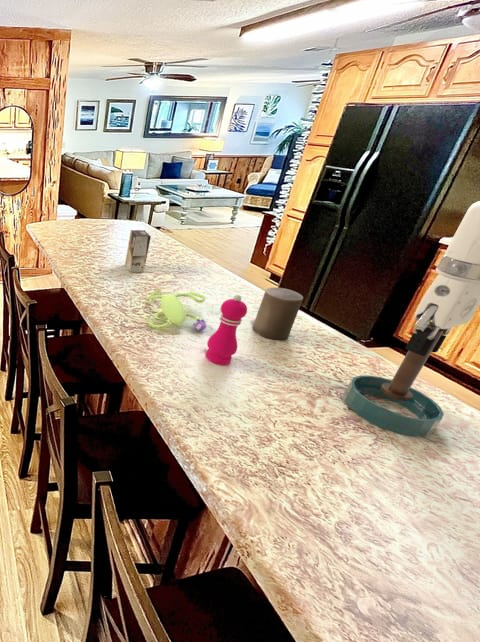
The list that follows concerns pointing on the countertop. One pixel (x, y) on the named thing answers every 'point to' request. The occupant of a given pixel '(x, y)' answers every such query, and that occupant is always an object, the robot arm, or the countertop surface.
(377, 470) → the countertop surface
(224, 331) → the pepper mill
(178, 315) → the figurine
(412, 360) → the stick
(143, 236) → the coffee box
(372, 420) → the ring
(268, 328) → the pillar candle
